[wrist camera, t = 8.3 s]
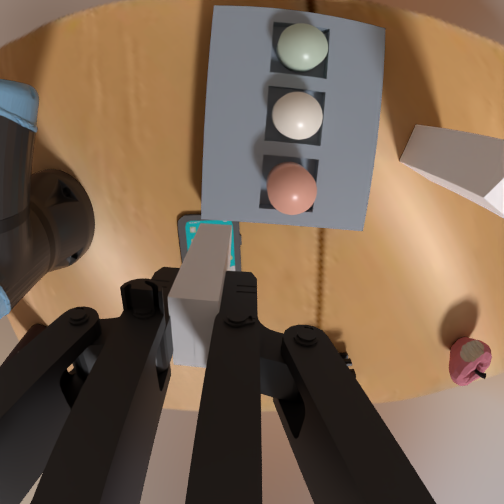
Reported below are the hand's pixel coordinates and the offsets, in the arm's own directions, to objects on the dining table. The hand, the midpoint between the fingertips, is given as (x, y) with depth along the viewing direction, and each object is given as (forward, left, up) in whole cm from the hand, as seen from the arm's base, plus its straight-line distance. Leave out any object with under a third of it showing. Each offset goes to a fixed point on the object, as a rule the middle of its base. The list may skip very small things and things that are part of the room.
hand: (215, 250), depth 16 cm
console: (+6, +7, -26) cm, 28 cm away
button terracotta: (+6, -1, -23) cm, 24 cm away
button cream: (+6, +7, -24) cm, 26 cm away
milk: (+25, +5, -27) cm, 37 cm away
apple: (+45, -29, -27) cm, 60 cm away
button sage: (+6, +15, -24) cm, 29 cm away
